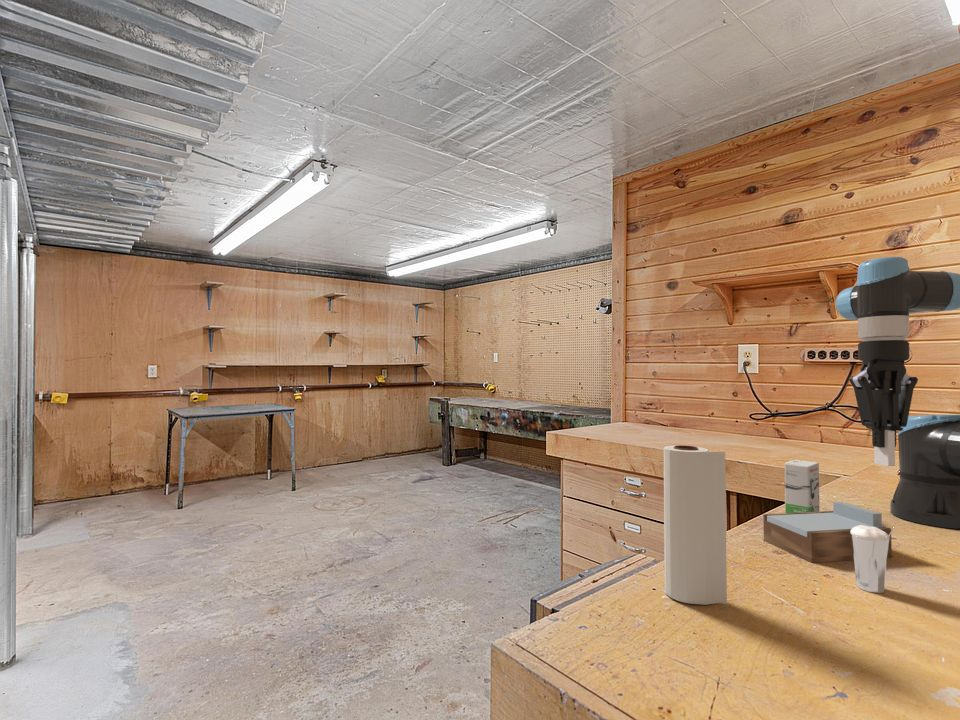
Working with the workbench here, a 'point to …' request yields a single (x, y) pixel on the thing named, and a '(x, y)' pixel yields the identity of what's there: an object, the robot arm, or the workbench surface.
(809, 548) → the case
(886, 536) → the milkshake
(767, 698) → the workbench surface
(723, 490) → the paper towel roll
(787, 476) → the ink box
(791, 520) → the lid
